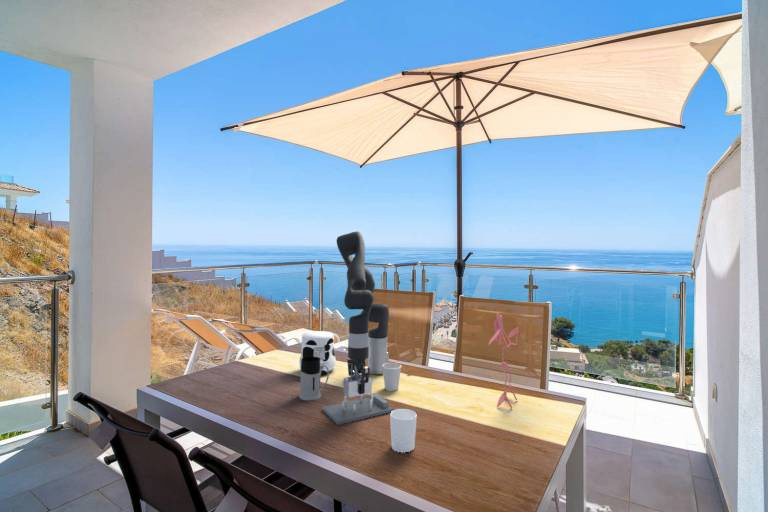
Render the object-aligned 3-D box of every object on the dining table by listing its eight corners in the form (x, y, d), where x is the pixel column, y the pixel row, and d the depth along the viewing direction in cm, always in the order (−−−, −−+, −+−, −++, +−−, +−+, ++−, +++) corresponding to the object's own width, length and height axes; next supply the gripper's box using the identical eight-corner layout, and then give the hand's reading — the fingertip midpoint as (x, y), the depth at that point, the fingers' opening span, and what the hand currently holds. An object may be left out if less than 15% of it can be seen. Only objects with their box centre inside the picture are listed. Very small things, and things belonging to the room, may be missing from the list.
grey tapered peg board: (374, 399, 151) (375, 387, 151) (393, 412, 139) (393, 399, 139) (322, 410, 140) (322, 397, 140) (337, 425, 128) (337, 411, 128)
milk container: (317, 364, 199) (318, 329, 199) (342, 370, 188) (343, 333, 188) (291, 372, 185) (292, 335, 184) (317, 379, 174) (317, 340, 174)
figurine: (524, 394, 158) (523, 309, 158) (509, 417, 135) (508, 318, 136) (487, 388, 165) (486, 307, 166) (467, 409, 143) (466, 315, 144)
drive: (365, 389, 144) (366, 374, 144) (371, 393, 139) (371, 378, 139) (343, 393, 140) (343, 377, 140) (348, 397, 135) (348, 381, 135)
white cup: (388, 441, 117) (388, 408, 117) (413, 440, 118) (414, 408, 118) (391, 454, 109) (391, 420, 109) (418, 454, 110) (418, 419, 110)
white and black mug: (310, 390, 160) (311, 354, 160) (335, 398, 152) (336, 360, 152) (294, 397, 153) (294, 359, 153) (320, 405, 145) (320, 365, 145)
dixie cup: (390, 393, 157) (391, 369, 157) (377, 388, 164) (378, 365, 164) (405, 389, 163) (405, 365, 163) (392, 384, 169) (392, 361, 169)
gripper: (377, 347, 135) (376, 395, 135) (358, 339, 148) (358, 383, 148) (357, 350, 131) (357, 399, 132) (340, 341, 144) (340, 386, 144)
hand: (357, 390), depth 140 cm, fingers closed on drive, 5 cm apart
